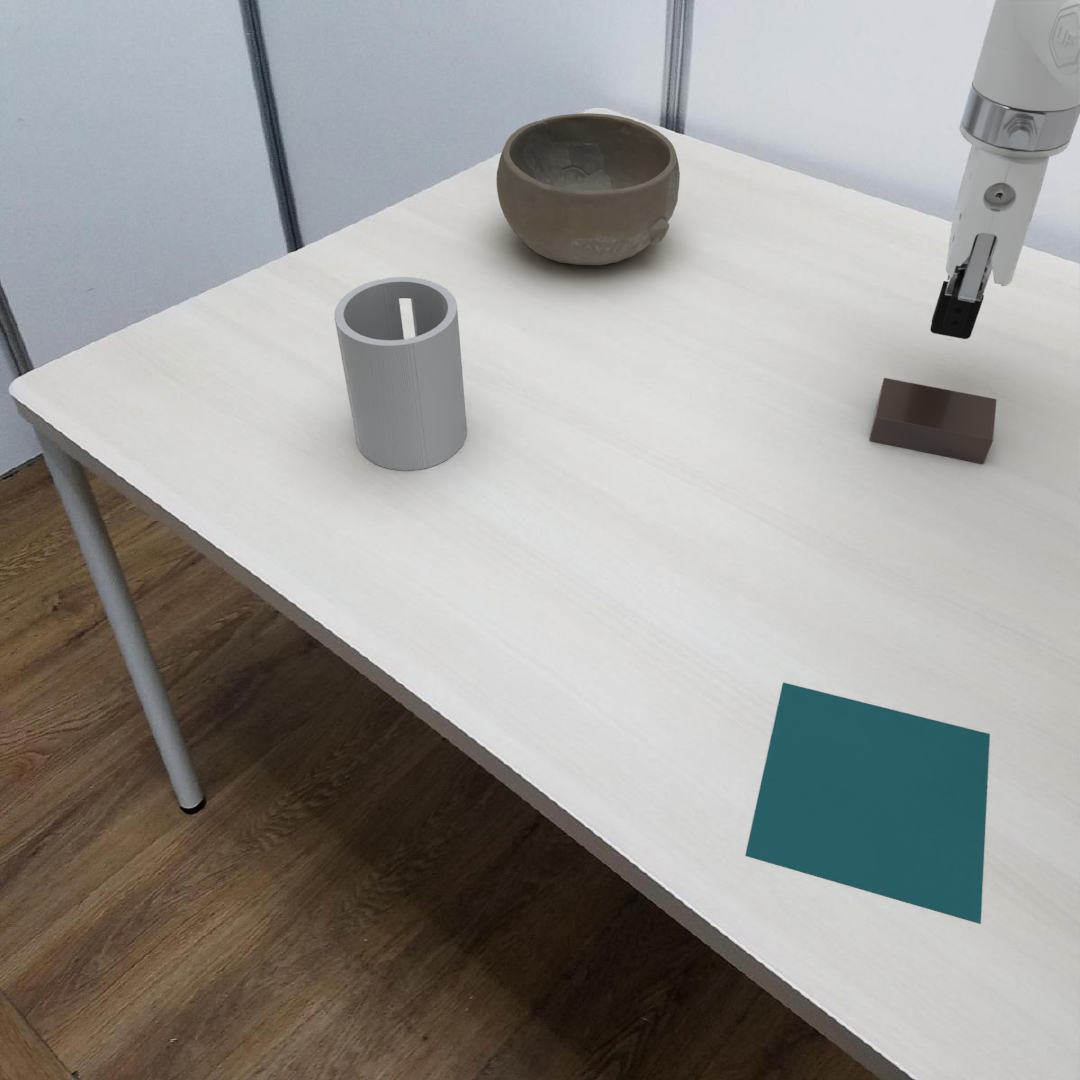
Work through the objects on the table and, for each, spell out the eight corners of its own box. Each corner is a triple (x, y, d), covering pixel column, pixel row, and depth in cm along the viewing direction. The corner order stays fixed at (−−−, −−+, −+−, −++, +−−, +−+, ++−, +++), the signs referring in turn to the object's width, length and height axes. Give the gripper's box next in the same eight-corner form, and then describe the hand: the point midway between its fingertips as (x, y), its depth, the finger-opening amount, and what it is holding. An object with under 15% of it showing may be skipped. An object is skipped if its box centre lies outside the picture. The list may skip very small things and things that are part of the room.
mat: (988, 735, 67) (989, 733, 67) (979, 924, 59) (980, 923, 59) (782, 684, 70) (783, 682, 70) (745, 856, 62) (745, 855, 62)
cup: (380, 483, 84) (359, 358, 75) (341, 419, 90) (318, 296, 81) (484, 448, 87) (476, 324, 78) (440, 388, 93) (428, 265, 84)
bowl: (703, 264, 106) (713, 169, 99) (537, 304, 102) (536, 207, 94) (627, 187, 117) (632, 97, 110) (475, 220, 113) (470, 127, 106)
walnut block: (988, 422, 88) (996, 398, 87) (983, 464, 85) (993, 440, 83) (877, 401, 91) (883, 377, 89) (868, 440, 87) (875, 416, 85)
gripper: (1075, 171, 70) (991, 393, 83) (1076, 79, 79) (1001, 291, 93) (956, 154, 72) (893, 374, 85) (972, 66, 81) (913, 276, 94)
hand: (950, 330), depth 89 cm, fingers closed
